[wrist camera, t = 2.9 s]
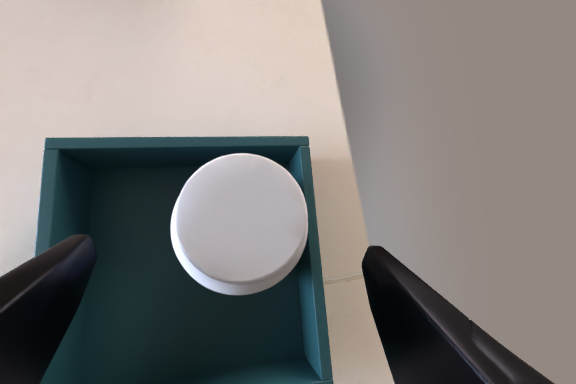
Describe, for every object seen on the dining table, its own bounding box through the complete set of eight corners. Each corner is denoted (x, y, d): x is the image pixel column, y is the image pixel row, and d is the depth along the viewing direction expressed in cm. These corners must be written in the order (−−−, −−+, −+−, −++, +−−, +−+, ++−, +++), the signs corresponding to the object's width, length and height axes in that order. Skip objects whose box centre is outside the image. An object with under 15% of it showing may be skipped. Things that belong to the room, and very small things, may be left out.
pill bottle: (179, 215, 17) (114, 171, 8) (258, 178, 19) (281, 105, 9) (218, 296, 17) (196, 351, 7) (296, 252, 18) (361, 252, 9)
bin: (312, 362, 17) (334, 393, 14) (72, 401, 15) (15, 452, 11) (294, 158, 20) (308, 135, 16) (86, 162, 18) (44, 137, 14)
